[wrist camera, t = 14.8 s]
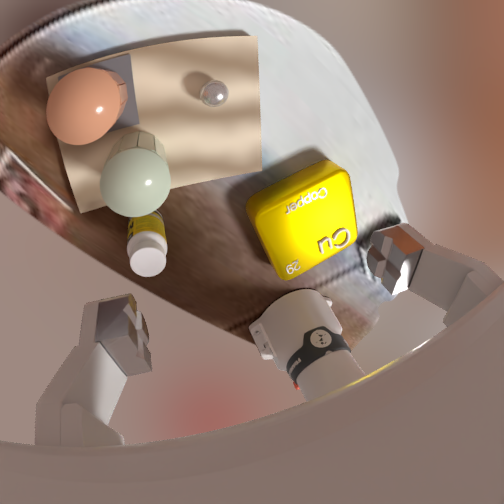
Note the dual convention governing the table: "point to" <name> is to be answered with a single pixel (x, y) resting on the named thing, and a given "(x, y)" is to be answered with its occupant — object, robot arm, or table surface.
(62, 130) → the terracotta cup
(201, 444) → the robot arm
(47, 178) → the table surface
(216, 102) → the steel marble
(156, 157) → the sage cup
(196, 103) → the birch board
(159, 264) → the supplement bottle
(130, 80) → the charcoal mat
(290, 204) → the element tile
